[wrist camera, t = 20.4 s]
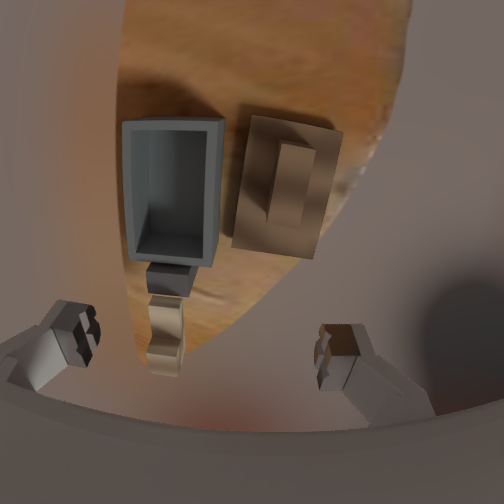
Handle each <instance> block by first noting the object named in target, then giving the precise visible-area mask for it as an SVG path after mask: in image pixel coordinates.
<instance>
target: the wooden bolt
mask: <svg viewBox="0 0 504 504" xmlns="http://www.w3.org/2000/svg"><path fill="white" fill-rule="evenodd" d="M148 307H149V315H150V322H151V329H152V339H151V341H150V344H149V346H148V349H147V352H146V355H147V360H148V365H149V370H150V373H154V374H161V375H167V376H174V377H179V373H180V369H181V365H182V360H183V355H184V351H185V336H184V320H183V302H182V299H181V298H172V297H163V296H154V295H153V296H152V298H151V301H150V303H149V305H148Z"/></svg>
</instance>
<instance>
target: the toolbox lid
mask: <svg viewBox="0 0 504 504" xmlns="http://www.w3.org/2000/svg"><path fill="white" fill-rule="evenodd" d="M342 137H343V132H339V131H335V130H331V129H327V128H322V127H318V126H313V125H308V124H303V123H298V122H293V121H288V120H283V119H277V118H271V117H265V116H259V115H253V114H252V117H251V123H250V129H249V135H248V141H247V148H246V154H245V160H244V166H243V173H242V179H241V186H240V192H239V199H238V206H237V212H236V219H235V226H234V233H233V239H232V246H231V248H238V249H245V250H252V251H258V252H265V253H272V254H279V255H285V256H292V257H299V258H306V259H313V256H314V252H315V249H316V245H317V241H318V238H319V234H320V230H321V226H322V222H323V218H324V214H325V210H326V206H327V202H328V198H329V194H330V190H331V186H332V182H333V177H334V173H335V169H336V164H337V160H338V156H339V151H340V146H341V142H342Z"/></svg>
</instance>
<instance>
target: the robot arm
mask: <svg viewBox="0 0 504 504" xmlns="http://www.w3.org/2000/svg"><path fill="white" fill-rule="evenodd" d="M95 316H96V311H95V308H94V307H93V306H92V305H88V304H82V303H77V302H71V301H70V302H69V301H64V300H58V301H56V302H55V304H54V305H53V306H52V308H51V309H50V310H49V312H48V313H47V314H46V316H45V317H44V319H43V320H42V321H41V323H40V324H39V326H38V325H35V326H33V327H31V328H29V329H27V330H25V331H23V332H21V333H20V334H18V335H16V336H14V337H12V338H10V339H9V340H7V341H5V342H3V343H1V344H0V504H504V399H502V400H499V401H495V402H492V403H489V404H486V405H483V406H479V407H475V408H471V409H468V410H464V411H460V412H456V413H451V414H447V415H443V416H438V417H436V416H435V414H434V411H433V408H432V406H431V403H430V401H429V399H428V396H427V394H426V391H425V390H423V389H422V388H421V387H419V386H418V385H417V384H415V383H414V382H413V381H412V380H411V379H409V378H408V377H407V376H405V375H404V374H403V373H402V372H400V371H399V370H398V369H396V368H395V367H394V366H392V365H391V364H390V363H389V362H387V361H386V360H385V359H383V358H382V357H381V356H376V355H375V352H374V349H373V346H372V344H371V341H370V339H369V336H368V334H367V331H366V329H365V326H364V325H363V324H322V325H321V327H320V330H319V336H320V339H319V340H318V341H317V342H316V345H315V350H314V363H315V367H316V368H317V369H318V370H319V371H318V374H317V381H318V386H319V391H342V392H343V393H344V395H345V396H346V397H347V398H348V399H349V400H350V401H351V403H352V404H353V405H354V406H355V407H356V408H357V409H358V410H359V411H360V413H361V414H362V415H363V416H364V417H365V418H366V420H367V421H369V423H370V424H369V426H368V427H367V428H360V429H349V430H335V431H318V432H248V431H230V430H216V429H204V428H196V427H187V426H179V425H172V424H165V423H159V422H152V421H147V420H141V419H136V418H130V417H125V416H121V415H116V414H111V413H107V412H102V411H99V410H94V409H90V408H87V407H83V406H79V405H76V404H72V403H68V402H65V401H61V400H58V399H55V398H52V397H49V396H46V395H43V394H40V393H37V392H36V391H37V390H38V389H40V388H41V387H42V386H43V385H44V384H46V383H47V382H48V381H49V380H51V379H52V378H53V377H54V376H55V375H57V374H58V373H59V372H61V371H62V370H63V369H64V368H66V367H67V366H68V365H72V366H77V367H82V368H87V367H88V364H89V362H90V360H91V358H92V356H93V355H92V350H93V349H95V348H96V347H97V346H98V344H99V342H100V336H101V330H100V325H99V323H98V322H97V321H96V320H95V318H94V317H95Z"/></svg>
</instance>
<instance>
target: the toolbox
mask: <svg viewBox="0 0 504 504" xmlns="http://www.w3.org/2000/svg"><path fill="white" fill-rule="evenodd" d="M224 130H225V118H214V117H141V118H136V119H131V120H126V121H122V171H123V194H124V211H125V224H126V236H127V246H128V256H129V260H136V261H147V262H151V263H150V265H149V267H148V268H147V270H146V279H147V288H148V293H153V294H162V295H171V296H181V297H189V295H190V292H191V288H192V285H193V282H194V279H195V276H196V273H197V270H198V267H199V266H202V267H212V264H213V260H214V256H215V252H216V248H217V245H218V240H219V217H220V196H221V178H222V160H223V144H224Z"/></svg>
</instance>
